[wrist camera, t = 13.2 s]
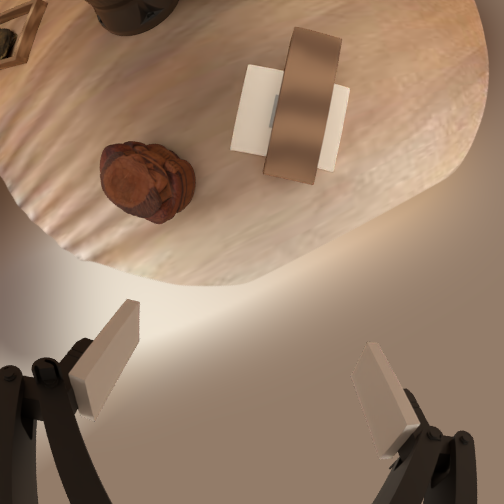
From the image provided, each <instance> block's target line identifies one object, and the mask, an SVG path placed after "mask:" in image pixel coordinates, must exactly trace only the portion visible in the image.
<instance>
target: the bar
mask: <svg viewBox="0 0 504 504" xmlns="http://www.w3.org/2000/svg"><path fill="white" fill-rule="evenodd" d="M341 43H342V39H340V38H337V37H334V36H330V35H327V34H323V33H320V32H316V31H312V30H308V29H304V28H299V27H294V31H293V34H292V38H291V41H290V46H289V50H288V55H287V60H286V64H285V69H284V74H283V78H282V83H281V88H280V93H279V97H278V102H277V107H276V111H275V116H274V121H273V126H272V130H271V135H270V140H269V145H268V150H267V154H266V159H265V164H264V169H263V174H265V175H270V176H275V177H280V178H284V179H289V180H293V181H298V182H302V183H306V184H311V185H313V184H314V180H315V176H316V171H317V167H318V162H319V157H320V153H321V148H322V143H323V139H324V134H325V129H326V124H327V119H328V114H329V109H330V104H331V99H332V94H333V88H334V83H335V77H336V72H337V66H338V61H339V55H340V49H341Z"/></svg>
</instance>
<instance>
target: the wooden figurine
mask: <svg viewBox="0 0 504 504" xmlns="http://www.w3.org/2000/svg"><path fill="white" fill-rule="evenodd" d="M100 173H101V174H100V178H101V186H102V189H103V191H104V193H105V194H106V196H107V198H109V200H110V201H112V202H113V203H114V204H115V205H117V206H118V207H119V208H121V209H122V210H123V211H125V212H126V213H128V214H132V215H134V216H138V217H141V218H145V219H146V220H149V221H151V222H153V223H156V224H162V223H164V222H166V221H167V220H170V219H172V218H173V217H174V215H175V214H176V213H178V212H181V211H182V210H183V209H184V208H185V207H186V206H187V205H188V204H189V202H190V201H191V199H192V197H193V194H194V190H195V174H194V171H193V168H192V167H191V165H190V164H189V163H188V162H187V161H185V160H181V159H179V157H178V156H177V155H176V154H175V153H174V152H173V151H171V150H167V149H166V148H165V147H164V146H162V145H159V144H149V145H145V144H143V143H140V142H135V141H128V142H125V143H124V144H113V145H109V146H107V147H105V148H104V150H103V152H102V155H101V160H100Z"/></svg>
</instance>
